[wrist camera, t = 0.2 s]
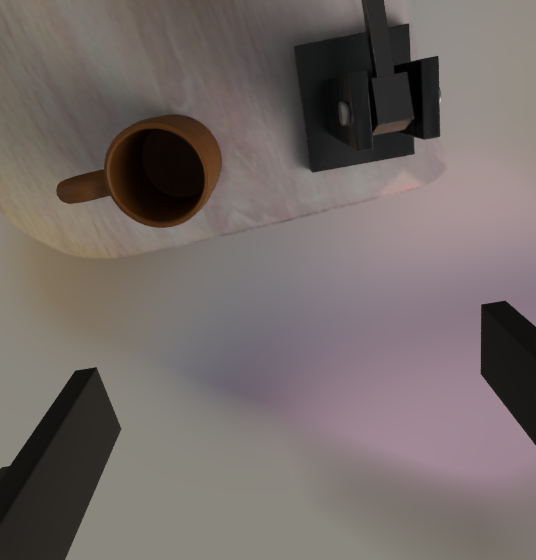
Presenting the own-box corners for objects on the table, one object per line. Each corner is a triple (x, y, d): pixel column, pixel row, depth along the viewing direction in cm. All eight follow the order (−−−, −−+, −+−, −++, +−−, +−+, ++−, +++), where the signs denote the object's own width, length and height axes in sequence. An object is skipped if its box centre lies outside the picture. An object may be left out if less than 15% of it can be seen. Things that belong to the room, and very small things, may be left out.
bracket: (293, 47, 36) (308, 24, 24) (404, 25, 35) (475, -10, 23) (310, 170, 39) (330, 202, 28) (410, 152, 39) (473, 177, 27)
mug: (106, 216, 41) (64, 249, 32) (78, 133, 38) (23, 144, 29) (231, 192, 40) (222, 219, 31) (212, 105, 37) (195, 108, 29)
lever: (313, -63, 28) (315, -93, 25) (399, -81, 28) (410, -113, 25) (345, 140, 28) (350, 130, 26) (430, 125, 28) (443, 113, 26)
